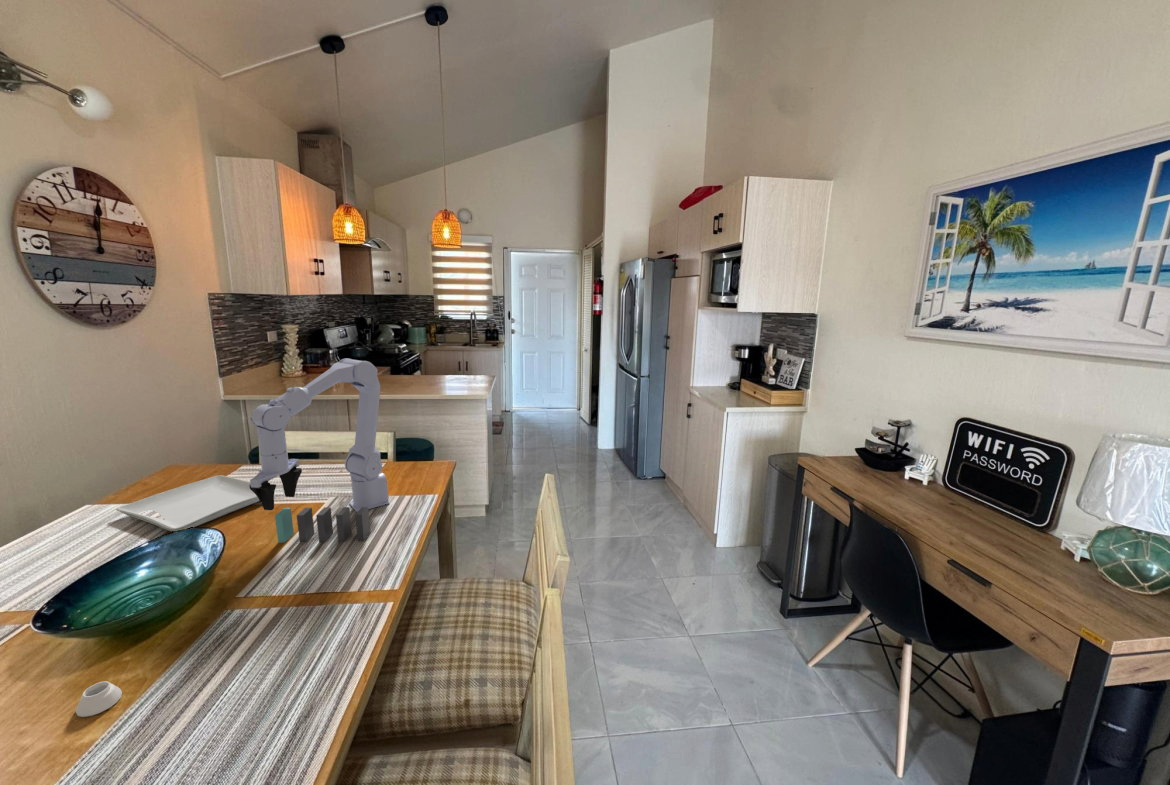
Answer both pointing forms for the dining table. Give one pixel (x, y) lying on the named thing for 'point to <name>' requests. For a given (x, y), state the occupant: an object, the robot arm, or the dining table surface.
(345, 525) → the tile
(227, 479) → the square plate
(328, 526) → the tile
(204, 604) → the dining table surface
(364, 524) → the tile
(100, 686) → the small white bowl
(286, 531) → the tile
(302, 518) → the tile
